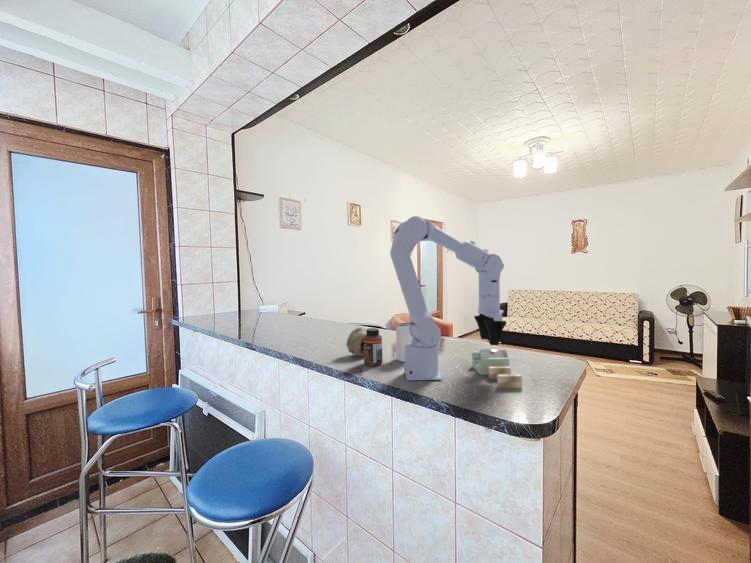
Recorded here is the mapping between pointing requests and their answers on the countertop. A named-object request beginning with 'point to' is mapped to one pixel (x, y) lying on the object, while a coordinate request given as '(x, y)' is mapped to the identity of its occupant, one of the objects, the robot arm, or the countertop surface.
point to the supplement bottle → (373, 347)
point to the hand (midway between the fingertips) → (489, 341)
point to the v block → (486, 363)
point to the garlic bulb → (356, 342)
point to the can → (402, 340)
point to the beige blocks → (505, 377)
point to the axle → (493, 353)
